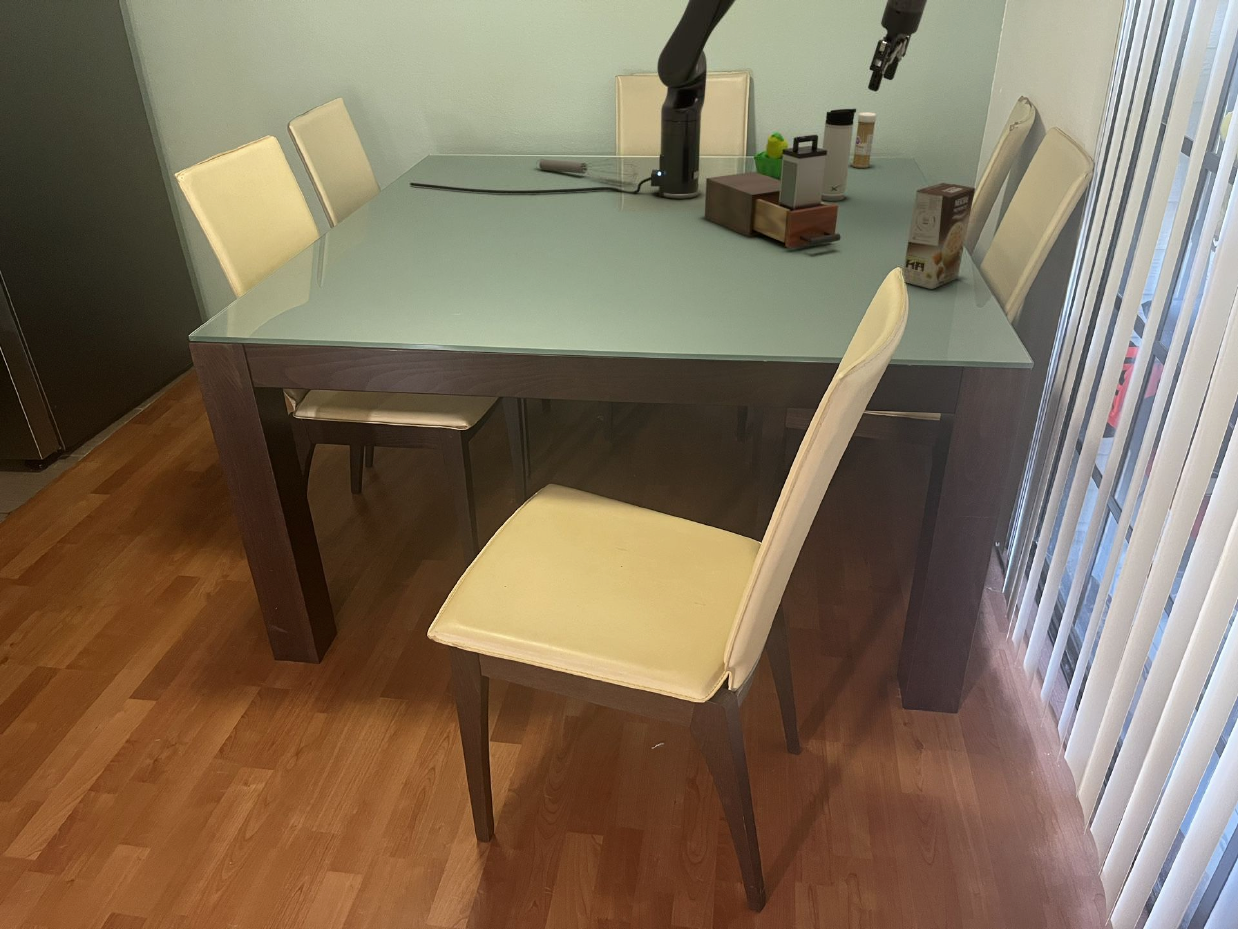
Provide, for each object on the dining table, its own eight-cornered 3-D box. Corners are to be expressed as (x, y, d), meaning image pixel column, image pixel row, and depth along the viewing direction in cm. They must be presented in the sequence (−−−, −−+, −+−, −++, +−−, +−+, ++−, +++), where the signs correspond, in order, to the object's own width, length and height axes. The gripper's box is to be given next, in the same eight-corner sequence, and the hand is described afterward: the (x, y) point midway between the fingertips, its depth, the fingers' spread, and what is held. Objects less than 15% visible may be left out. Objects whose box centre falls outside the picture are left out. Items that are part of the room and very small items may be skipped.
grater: (818, 232, 180) (828, 136, 171) (791, 237, 177) (800, 139, 168) (801, 226, 184) (811, 131, 174) (775, 231, 181) (783, 135, 172)
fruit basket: (803, 176, 231) (808, 129, 226) (790, 182, 225) (794, 135, 219) (763, 170, 237) (766, 125, 231) (748, 177, 230) (751, 131, 225)
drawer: (848, 244, 177) (852, 209, 173) (802, 253, 172) (805, 217, 168) (786, 221, 191) (789, 188, 188) (742, 228, 187) (744, 195, 183)
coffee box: (933, 290, 156) (950, 196, 148) (900, 281, 160) (914, 190, 152) (958, 278, 162) (976, 187, 154) (926, 270, 166) (941, 181, 158)
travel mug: (838, 202, 208) (849, 111, 198) (812, 198, 211) (822, 108, 201) (850, 197, 212) (861, 107, 202) (824, 193, 216) (834, 104, 205)
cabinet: (797, 228, 190) (801, 187, 185) (749, 237, 184) (752, 194, 180) (751, 210, 202) (754, 171, 198) (704, 218, 197) (706, 178, 193)
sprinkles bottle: (848, 166, 241) (854, 113, 234) (859, 163, 243) (866, 111, 237) (861, 169, 238) (868, 115, 231) (873, 166, 240) (880, 113, 234)
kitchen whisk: (543, 166, 242) (542, 142, 239) (643, 185, 224) (643, 159, 221) (528, 170, 238) (526, 145, 235) (628, 190, 220) (628, 163, 217)
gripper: (901, -9, 186) (876, 69, 198) (875, 6, 177) (851, 87, 189) (935, 1, 184) (908, 81, 195) (910, 17, 175) (883, 99, 186)
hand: (880, 84), depth 192 cm, fingers open, 8 cm apart
